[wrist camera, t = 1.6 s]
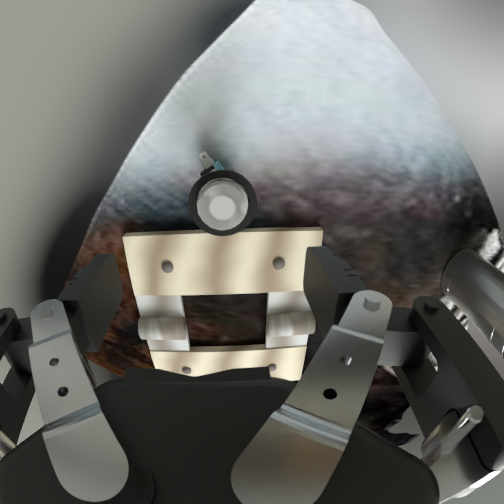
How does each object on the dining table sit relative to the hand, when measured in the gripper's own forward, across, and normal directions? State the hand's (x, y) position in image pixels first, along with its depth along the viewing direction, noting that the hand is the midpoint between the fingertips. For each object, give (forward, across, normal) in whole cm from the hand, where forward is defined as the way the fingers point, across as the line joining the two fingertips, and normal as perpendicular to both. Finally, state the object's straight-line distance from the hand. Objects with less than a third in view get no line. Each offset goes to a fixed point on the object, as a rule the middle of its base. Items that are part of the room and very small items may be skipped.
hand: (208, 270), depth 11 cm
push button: (+20, 0, 0) cm, 20 cm away
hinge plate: (+20, 0, +19) cm, 28 cm away
